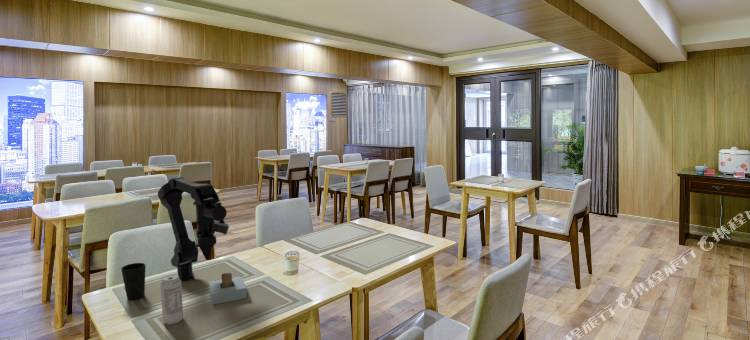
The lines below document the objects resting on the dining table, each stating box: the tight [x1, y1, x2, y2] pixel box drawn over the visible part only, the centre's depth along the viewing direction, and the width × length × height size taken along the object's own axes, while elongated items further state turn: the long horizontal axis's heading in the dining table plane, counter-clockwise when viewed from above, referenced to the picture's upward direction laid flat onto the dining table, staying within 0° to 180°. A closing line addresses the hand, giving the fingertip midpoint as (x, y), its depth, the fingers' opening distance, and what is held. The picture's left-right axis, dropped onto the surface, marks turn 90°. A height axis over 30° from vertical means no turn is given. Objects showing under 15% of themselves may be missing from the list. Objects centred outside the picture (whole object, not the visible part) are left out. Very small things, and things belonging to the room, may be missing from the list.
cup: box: [120, 262, 146, 302], centre depth 149 cm, size 8×8×12 cm
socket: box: [208, 276, 248, 306], centre depth 152 cm, size 12×12×4 cm
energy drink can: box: [159, 274, 184, 326], centre depth 132 cm, size 6×6×15 cm
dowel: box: [221, 272, 233, 288], centre depth 152 cm, size 4×4×8 cm
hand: (206, 256), depth 157 cm, fingers open, 9 cm apart
